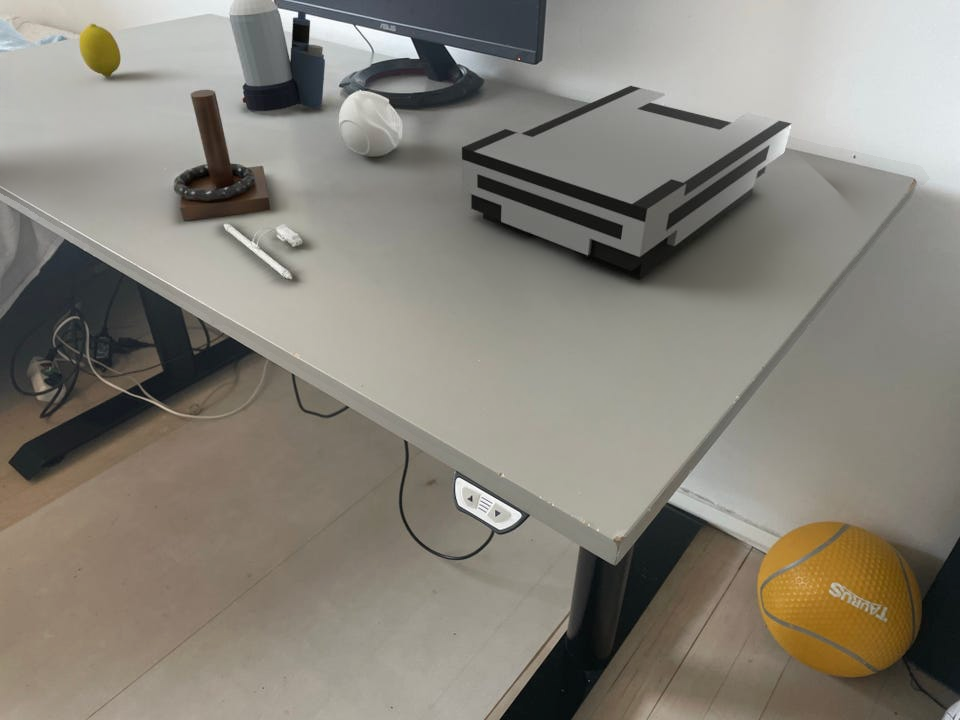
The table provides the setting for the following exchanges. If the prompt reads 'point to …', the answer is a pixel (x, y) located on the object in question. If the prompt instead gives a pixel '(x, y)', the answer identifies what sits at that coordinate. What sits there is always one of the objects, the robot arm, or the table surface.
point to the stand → (220, 168)
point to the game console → (621, 176)
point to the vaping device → (306, 63)
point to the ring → (213, 194)
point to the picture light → (284, 235)
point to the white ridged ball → (369, 124)
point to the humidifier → (263, 55)
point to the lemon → (99, 50)
